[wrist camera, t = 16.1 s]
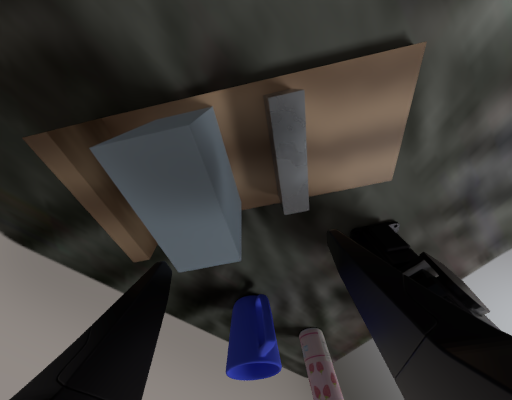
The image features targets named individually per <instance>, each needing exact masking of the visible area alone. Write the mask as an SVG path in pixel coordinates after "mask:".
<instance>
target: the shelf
mask: <svg viewBox="0 0 512 400" xmlns="http://www.w3.org/2000/svg"><path fill="white" fill-rule="evenodd" d="M425 46H426V42H423V43H418V44H414V45H410V46H405V47H401V48H397V49H393V50H388V51H384V52H380V53H376V54H371V55H367V56H363V57H359V58H354V59H350V60H346V61H342V62H337V63H333V64H329V65H325V66H321V67H316V68H312V69H308V70H304V71H299V72H295V73H291V74H287V75H282V76H278V77H274V78H270V79H265V80H261V81H257V82H253V83H248V84H244V85H240V86H236V87H232V88H227V89H223V90H219V91H215V92H210V93H206V94H202V95H198V96H193V97H189V98H185V99H181V100H176V101H172V102H168V103H164V104H160V105H155V106H151V107H147V108H143V109H138V110H134V111H130V112H126V113H121V114H117V115H113V116H109V117H104V118H100V119H96V120H92V121H88V122H84V123H80V124H76V125H72V126H68V127H64V128H60V129H56V130H52V131H47V132H43V133H39V134H35V135H31V136H27V137H23V138H22V139H23V140H24V141H25V142H26V143H27V144H28V145H29V146H30V147H31V149H32V150H33V151H34V152H35V153H36V154H37V155H38V156H39V157H40V159H41V160H42V161H43V162H44V163H45V164H46V165H47V166H48V167H49V169H50V170H51V171H52V172H53V173H54V174H55V175H56V176H57V177H58V179H59V180H60V181H61V182H62V183H63V184H64V185H65V186H66V187H67V189H68V190H69V191H70V192H71V193H72V194H73V195H74V196H75V197H76V199H77V200H78V201H79V202H80V203H81V204H82V205H83V206H84V207H85V208H86V210H87V211H88V212H89V213H90V214H91V215H92V216H93V217H94V218H95V220H96V221H97V222H98V223H99V224H100V225H101V226H102V227H103V228H104V230H105V231H106V232H107V233H108V234H109V235H110V236H111V237H112V238H113V240H114V241H115V242H116V243H117V244H118V245H119V246H120V247H121V248H122V250H123V251H124V252H125V253H126V254H127V255H128V256H129V257H130V258H131V260H132V261H133V262H138V261H143V260H148V259H150V257H151V256H152V254H153V252H154V250H155V248H156V246H157V244H158V243H157V242H156V240H155V239H154V237H153V236H152V235H151V233H150V232H149V231H148V229H147V228H146V226H145V225H144V224H143V222H142V221H141V219H140V218H139V217H138V215H137V214H136V213H135V211H134V210H133V208H132V207H131V206H130V204H129V203H128V201H127V200H126V199H125V197H124V196H123V195H122V193H121V192H120V190H119V189H118V188H117V186H116V185H115V183H114V182H113V181H112V179H111V178H110V177H109V175H108V174H107V172H106V171H105V170H104V168H103V167H102V166H101V164H100V163H99V161H98V160H97V159H96V157H95V156H94V154H93V153H92V152H91V150H90V149H89V148H90V147H93V146H95V145H98V144H100V143H102V142H105V141H107V140H109V139H112V138H114V137H116V136H119V135H121V134H123V133H126V132H128V131H130V130H133V129H135V128H138V127H140V126H142V125H145V124H147V123H149V122H152V121H154V120H157V119H161V118H165V117H170V116H174V115H178V114H182V113H187V112H191V111H195V110H199V109H204V108H208V107H212V106H213V109H214V112H215V116H216V119H217V122H218V126H219V129H220V133H221V136H222V139H223V143H224V146H225V149H226V153H227V156H228V159H229V163H230V166H231V170H232V173H233V176H234V180H235V183H236V186H237V190H238V193H239V196H240V200H241V210H245V209H250V208H255V207H260V206H265V205H270V204H275V203H280V200H279V197H278V191H277V185H276V178H275V171H274V165H273V158H272V152H271V145H270V138H269V132H268V125H267V119H266V112H265V105H264V99H263V95H266V94H270V93H274V92H279V91H283V90H287V89H291V88H293V89H302V90H304V91H305V116H306V141H307V167H308V192H309V197H310V196H315V195H320V194H325V193H330V192H336V191H341V190H346V189H351V188H356V187H361V186H366V185H371V184H376V183H381V182H386V181H391V180H392V178H393V174H394V170H395V166H396V162H397V158H398V154H399V150H400V146H401V142H402V138H403V134H404V130H405V126H406V122H407V118H408V114H409V110H410V106H411V102H412V98H413V94H414V90H415V86H416V82H417V78H418V74H419V70H420V66H421V62H422V58H423V54H424V50H425Z"/></svg>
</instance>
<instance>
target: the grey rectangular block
mask: <svg viewBox="0 0 512 400" xmlns="http://www.w3.org/2000/svg"><path fill="white" fill-rule="evenodd" d="M263 99H264V105H265V112H266V119H267V125H268V132H269V138H270V145H271V152H272V158H273V165H274V171H275V178H276V185H277V191H278V197H279V200H280V203H281V206H282V209H283V212H284V215H288V214H293V213H298V212H303V211H308V210H309V192H308V167H307V141H306V116H305V91H304V90H302V89H293V88H291V89H287V90H283V91H279V92H274V93H270V94H266V95H263Z"/></svg>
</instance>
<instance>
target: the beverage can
mask: <svg viewBox="0 0 512 400" xmlns="http://www.w3.org/2000/svg"><path fill="white" fill-rule="evenodd" d="M299 338H300V342H301V347H302V351H303V355H304V360H305V364H306V369H307V373H308V377H309V382H310V386H311V390H312V395H313V399H314V400H344V399H343V395H342V392H341V389H340V386H339V383H338V380H337V376H336V373H335V371H334V367H333V364H332V361H331V358H330V355H329V351H328V348H327V345H326V342H325V339H324V336H323V333H322V331H321V330H320V329H318V328H308V329H305V330H303V331H301V333H300V335H299Z"/></svg>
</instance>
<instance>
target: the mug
mask: <svg viewBox="0 0 512 400" xmlns="http://www.w3.org/2000/svg"><path fill="white" fill-rule="evenodd" d="M281 368H282V366H281V361H280V356H279V351H278V346H277V341H276V336H275V330H274V324H273V318H272V313H271V308H270V304H269V300H268V298H267V296H266V295H263V294H259V295H258V296H256V295H249V296H245V297H242V298H240V299H239V300H237V301H236V303H235V304H234V307H233V312H232V320H231V329H230V338H229V347H228V356H227V365H226V374H227V376H228V377H230V378H232V379H236V380H258V379H264V378H268V377H271V376H274V375H276V374H278V373H279V372H280V371H281Z"/></svg>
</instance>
